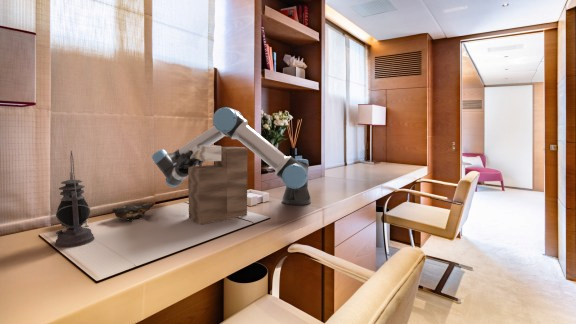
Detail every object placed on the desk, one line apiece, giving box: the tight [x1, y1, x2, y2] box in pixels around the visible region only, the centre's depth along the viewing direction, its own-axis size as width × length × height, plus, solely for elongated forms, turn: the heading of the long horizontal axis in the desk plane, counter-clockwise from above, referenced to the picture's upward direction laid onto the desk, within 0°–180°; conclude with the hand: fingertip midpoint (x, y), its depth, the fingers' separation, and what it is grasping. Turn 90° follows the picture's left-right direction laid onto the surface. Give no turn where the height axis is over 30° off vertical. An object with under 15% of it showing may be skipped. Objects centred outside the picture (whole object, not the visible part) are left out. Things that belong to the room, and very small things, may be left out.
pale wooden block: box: [188, 145, 222, 162], centre depth 127 cm, size 21×7×6 cm, turn 42°
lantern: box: [54, 150, 95, 249], centre depth 97 cm, size 12×11×30 cm
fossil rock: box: [111, 202, 155, 221], centre depth 124 cm, size 14×14×6 cm
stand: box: [187, 146, 249, 225], centre depth 128 cm, size 11×22×30 cm, turn 132°
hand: (201, 148), depth 127 cm, fingers closed on pale wooden block, 3 cm apart
